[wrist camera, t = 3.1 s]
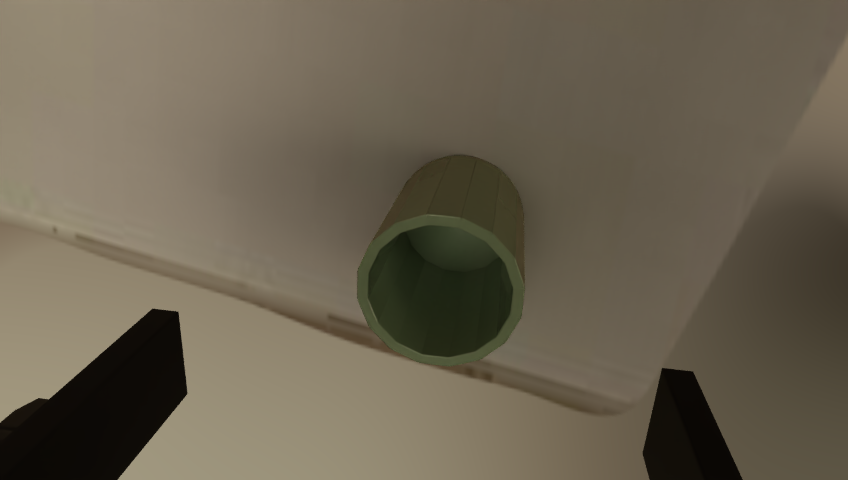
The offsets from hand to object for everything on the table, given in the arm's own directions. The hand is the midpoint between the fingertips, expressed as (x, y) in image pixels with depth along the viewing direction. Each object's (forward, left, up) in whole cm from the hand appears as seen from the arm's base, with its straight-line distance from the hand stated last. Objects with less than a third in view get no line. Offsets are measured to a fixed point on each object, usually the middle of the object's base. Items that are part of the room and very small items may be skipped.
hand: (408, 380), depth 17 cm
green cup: (0, 0, -13) cm, 13 cm away
